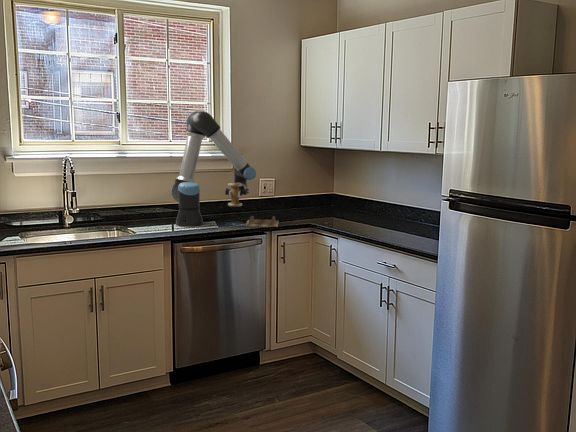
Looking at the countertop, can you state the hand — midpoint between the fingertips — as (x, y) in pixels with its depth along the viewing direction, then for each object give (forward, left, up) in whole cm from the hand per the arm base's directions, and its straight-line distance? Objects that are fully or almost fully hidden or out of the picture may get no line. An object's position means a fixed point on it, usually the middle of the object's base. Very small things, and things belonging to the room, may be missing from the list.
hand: (234, 194), depth 330 cm
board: (+17, -1, -18) cm, 25 cm away
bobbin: (+3, +5, -7) cm, 9 cm away
